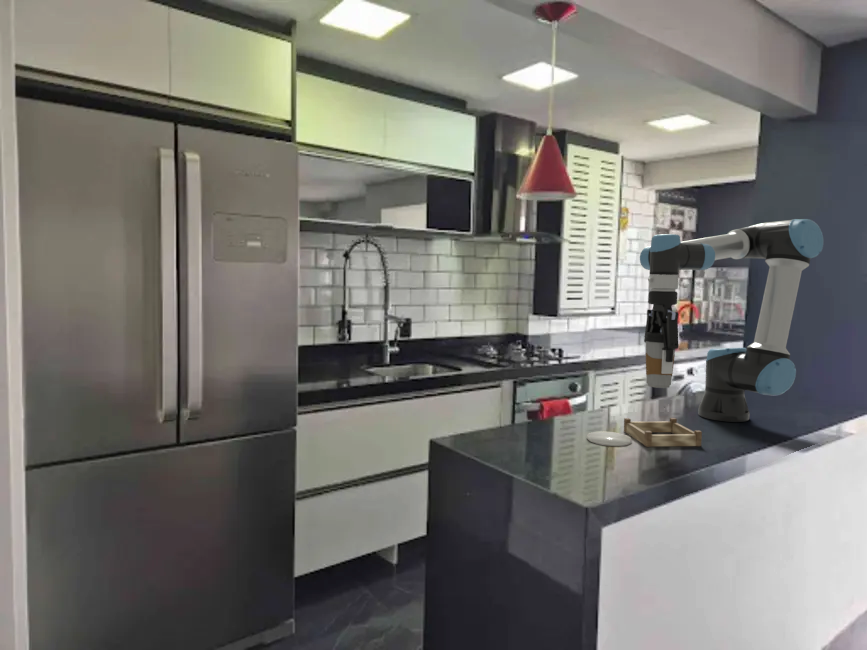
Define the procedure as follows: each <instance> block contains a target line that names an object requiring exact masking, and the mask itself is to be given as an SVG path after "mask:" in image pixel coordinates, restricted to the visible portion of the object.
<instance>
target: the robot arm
mask: <svg viewBox="0 0 867 650" xmlns="http://www.w3.org/2000/svg"><path fill="white" fill-rule="evenodd" d="M823 235H824V234H823V232H822V230H821V227H820V225H818V223H816V221H814V220H812V219H809V218H800V219H798V218H794V219H793V218H792V219H788V220H779V221H778V220H776V221H766V222H761V223H757V224H756V223H755V224H752V225H750V226H746V227H741V228H736V229H732V230H730V231H728V232H727V234H720V235H714V236H707V237H703V238H702V237H701V238H697V239H690V240H684V241H681V236H680V235H679V234H675V233H674V234H673V233H667V234H665V233H663V234H662V233H661V234H655V235H653V236H652V238H651V242H650V246H646V247H644V248H643V249H641V250H642V251H641V252H640V254H639V262H640V266H641V267H642V268H644V269H645V270H646V271H649V277H648V278H647V280H648V283H649V284H648V289H650V290H649V292H648V298H647V299H648V301H647V303H648V304H649V305H652V309H647V310H646V323H645V331H644V339H643V342H644V343H645V344H646V341H645V339H646V336H647V333H648V332H662V334H663V342H664V348H662V350H663V351H662V372H661V373H662V374H672V369H673V370H674V365H673V350H675V351H676V349H679V347H680V346H679V345H680V344H679V328H678V327H679V326H678V323H679V322H678V320H679V312H678V311H673V307H672V306H675V305H677V304H678V295H679V293H678V291H676V290H678V289H679V275H680V274H679V272H680V271H705V270H709V269H710V268H711V267H712V266H713V265H714V263H715V261H717V260H723V259H729V258H731V259H733V260H740V259H760V260H761V259H764V260H765V261H764V262H765V263H766V264H767V266H768V267H769V269H768V273H767V278H766V283H765V286H764V287H765V288H764V292H763V298H762V301H761V307H760V312H759V315H758V316H759V317H758V321H757V325H756V326H757V327H756V330H755V334H754V339H753V342H752V343H751V344H749V345H748V346H746V347H724V348H723V347H721V348H711V349H709V350H708V351H707V353H706V359H705V388H704V389H705V390H704V394H703V396H702V399H701V401H700V404H699V405H698V411H697V412H698V416H700V417H701V418H705V419H708V420H713V421H719V422H728V423H740V422H741V423H743V422H747V421H749V420H750V409H749V407H748V406H749V405H748V403H747V400H746V396H745V392H746V391H748V392H753V393H757V394H760V395H764V396H774V397H775V396H781V395H783V394H784V393H785V392H787V391H789V390H790V389H791V388H792V386H793V385H794V382H795V379H796V377H797V376H796V375H797V369H796V365H795V364H794V362H793V360H791V359H790V357H791V353H790V352H789V351H788V349H787V343H788V339H789V334H790V330H791V324H792V319H793V316H794V310H795V306H796V300H797V295H798V291H799V286H800V281H801V276H802V273H803V272H802V271H804V270H805V269H806V268H808V267H809V266H810V262H811V259H812V258H816V257H817V256H820V255H819V254H821V253H822V251H823V248H824V236H823ZM672 375H673V374H672Z"/></svg>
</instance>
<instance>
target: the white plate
mask: <svg viewBox="0 0 867 650" xmlns="http://www.w3.org/2000/svg"><path fill="white" fill-rule="evenodd" d="M586 439H587V440H588V442H589V443H590V442H591V443H593V444H596V445H601V446H607V447H625V446H629V445H631V444H632V442H633V441H632V436H630V435H628V434H627V435H626V434H623V433H621V432H615V431H603V430H602V431H600V430H599V431H592V432H588V433H587V435H586Z"/></svg>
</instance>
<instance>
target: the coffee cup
mask: <svg viewBox="0 0 867 650" xmlns="http://www.w3.org/2000/svg"><path fill="white" fill-rule="evenodd" d="M645 341H646V343H645V374H646V384H647V386H648V387H651V388H654V389H655V388H657V389H668V388H670V386H671V385H672V378H673V373H674V372H673V371H674V368H673V369H672V374H662V373H661V372H662V351H663V350H662V348H664V342H663V334H662V331H660V332H648V333H647V336H646V339H645ZM675 352H676V349H675V350H673V366H674V365H675V355H676V353H675Z"/></svg>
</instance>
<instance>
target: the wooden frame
mask: <svg viewBox="0 0 867 650" xmlns="http://www.w3.org/2000/svg"><path fill="white" fill-rule="evenodd" d="M631 420H632V419H631V418H628V417H627V418H626V417H624V418H623V432H624V433H626V434H627V435H628V436H629V437H631V438H633V439H635V440H637V441H638V442H639V443H640V444H642V445H644V446H645V447H646V448H651V447H702V438H703V437H702V434H703V432H702V431H701V430H699V429H698V430H694V431H693V430H692V429H690V428H688V427H686V426H684V425H682V424H680V423H678V422H677V420H678V419H677V417H676V418H675V417H670V418H669V421H668V420H667V421H662V420H661V421H657V420H656V421H631ZM653 433H663V434H653ZM664 433H669V434H664ZM671 433H672V434H671Z"/></svg>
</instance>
